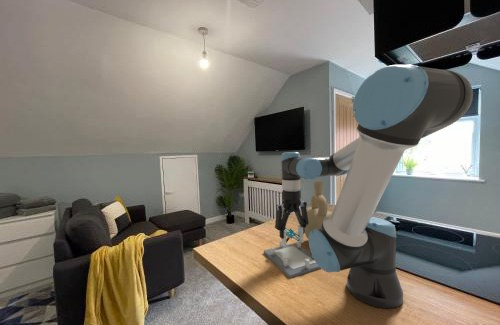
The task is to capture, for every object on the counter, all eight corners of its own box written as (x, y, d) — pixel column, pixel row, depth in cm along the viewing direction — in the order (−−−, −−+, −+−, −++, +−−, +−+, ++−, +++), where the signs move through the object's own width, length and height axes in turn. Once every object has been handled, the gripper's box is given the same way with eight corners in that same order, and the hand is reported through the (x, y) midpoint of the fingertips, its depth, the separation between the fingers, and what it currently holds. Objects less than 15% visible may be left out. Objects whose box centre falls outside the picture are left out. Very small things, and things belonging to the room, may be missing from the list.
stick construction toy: (304, 236, 85) (289, 224, 85) (295, 251, 83) (280, 239, 83) (292, 235, 96) (279, 225, 96) (284, 248, 94) (270, 237, 94)
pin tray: (327, 266, 81) (326, 256, 80) (289, 278, 74) (289, 267, 74) (295, 245, 100) (295, 236, 100) (263, 253, 94) (263, 243, 93)
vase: (344, 250, 93) (343, 184, 91) (307, 252, 93) (305, 185, 91) (329, 235, 110) (328, 179, 108) (298, 237, 110) (296, 180, 108)
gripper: (305, 185, 93) (306, 235, 94) (264, 190, 85) (266, 244, 86) (317, 188, 86) (318, 242, 87) (273, 193, 78) (275, 252, 80)
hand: (292, 243), depth 87 cm, fingers closed on stick construction toy, 8 cm apart
